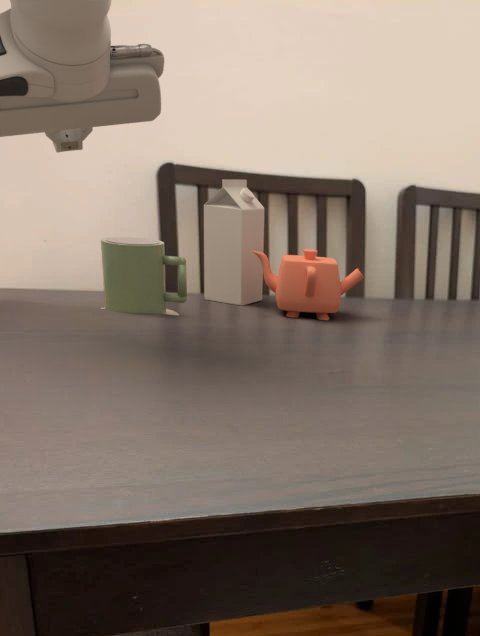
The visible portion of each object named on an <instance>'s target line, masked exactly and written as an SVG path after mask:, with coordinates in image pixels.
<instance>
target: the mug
mask: <svg viewBox="0 0 480 636" xmlns="http://www.w3.org/2000/svg"><path fill="white" fill-rule="evenodd" d="M165 251H166V250H165V242H164V241H162V240H159V239H153V238H145V237H133V236H132V237H131V236H128V237H127V236H121V237H120V236H114V237H111V236H110V237H104V238H101V239H100V252H101V264H102V265H101V268H102V282H103V285H102V286H103V298H104V299H103V300H104V306H103V307H100V309H102V310H110V311H113V312H118V313H125V314H127V313H128V314H158V315H159V314H160V315H169V316H180V314H179V312H177V311H175V310H172V309H169V308H167V303H177V304H178V303H180V304H181V303H182V304H185V303H186V302H187V300H188V285H187V284H188V283H187V280H188V278H187V274H188V273H187V259H186V258H185V257H183V256H174V255H165ZM166 266H175V267H176V266H177V293H172V292H167V288H166Z"/></svg>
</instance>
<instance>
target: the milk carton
mask: <svg viewBox="0 0 480 636" xmlns="http://www.w3.org/2000/svg"><path fill="white" fill-rule="evenodd" d="M221 180H222V182H221V183H222V185H221V187H220V189H219V190H218V191H217V192H216V193H215V194H213V195H212V196H211V197H210V198H209V199H208V200H207V201H206V202H205V203H204V204H203V255H204V256H203V258H204V259H203V275H204V276H203V281H204V282H203V283H204V285H203V286H204V288H203V291H204V293H203V294H204V295H203V296H204V297H203V299H204V301H211V302H216V303H222V304H229V305H234V306H245V305H249V304H252V303H257V302H261V301H263V283H264V275H263V268H262V264H261V261H260V259H259V258H258V256H257V255H256V254H254V253H253V252H252V251H257V252H261V253H264V243H265V207H264V206H263V205H262V203H261V202H260V201H259V200H258V198H257V197H256V196H255V195H254V193H253V192H252V191H251V190H250V189H249V188H248V186H247V184H248V180H247V179H221Z"/></svg>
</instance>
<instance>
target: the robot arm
mask: <svg viewBox="0 0 480 636" xmlns="http://www.w3.org/2000/svg"><path fill="white" fill-rule="evenodd" d="M112 1H113V0H9V2H10V8H8V9H6V10H5V11H3V12H0V138H5V137H14V136H23V135H33V134H42V133H44V135H45V136H46V137H47V138H48V139H49V140H50V141H51V142H52V144H53V148H54V150H55V152H56V153H58V154H59V153H62V152H63V153H64V152H74V151H82V150H83V149H84V145H83V143H84V142H83V141H85V140H86V139H87V137H88V136H89V135H90V134H91V133H92V132H93V129H94V128H98V127H108V126H117V125H119V126H120V125H129V124H136V123H146V122H152V121H155V120H156V119H157V118H158V117H159V116H160V115H161V113H162V92H161V91H162V90H161V85H160V80H159V79H160V78H161V77H162V75H163V73H164V68H165V55H164V54H163V52H162V51H161V50H160V49H158V48H155V47H152V45H151V44H150V43H138V44H137V45H127V44H118V45H112V29H111V24H110V20H109V17H108V14H109V11H110V9H111V6H112Z"/></svg>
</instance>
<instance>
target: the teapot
mask: <svg viewBox="0 0 480 636" xmlns="http://www.w3.org/2000/svg"><path fill="white" fill-rule="evenodd" d="M252 252H253V253H254V254H256V255H257V256H258V258H259V259H260V261H261V264H262V268H263V280H264V282H265V285H266V286H267V288H268V289H269V290H270V291H272V292H273V293H274V296H275V300H276V305H277V308H278V309H279V310H281V311H285V312H287V313H286V314H285V316H286V317H287V318H299V316H300V313H315V315H316V319H317V320H319V321H329V320H330V317H329V314H336V313H338V311H339V309H340V306H341V303H342V302H341V301H342V296H343V295H344V294H345V293H347V292H348V291H349V290H350V289H352V288H353V287H354V286H356V285H357V284H358V283H359V282H361V281H362V280H363V279H365V276H364V274H363V273H362V271H360V269H359V267H357V268H356V269H354V270H353V271H352V272H351V273H350V274H348V275H347V276H346V277H345V278H344V279H342V280H341V277H340V271H339V266H338V265H339V264H338V262H337V260H336V259H335V258H334V257H327V256H326V257H324V256H318V250H317V249H313V248H304V249H302V254H303V255H300V254H299V255H298V254H283V255H282V258H281V260H280V264H279V268H278V273H277V275H275V274H274V273H273V271H272V269H271V264H270V260H269V258H268V255H267V254H265V253H264V252H263V253H261V252H257V251H252Z"/></svg>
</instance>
